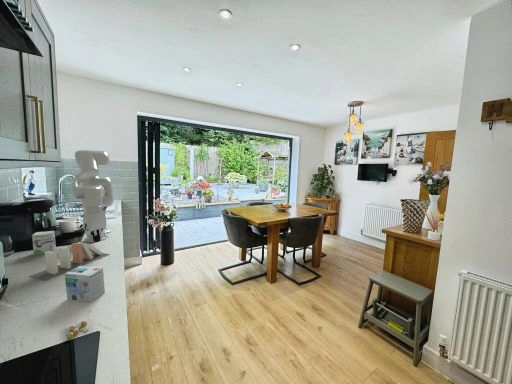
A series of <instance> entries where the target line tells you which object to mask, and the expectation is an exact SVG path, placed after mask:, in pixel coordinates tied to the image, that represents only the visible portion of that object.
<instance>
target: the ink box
mask: <svg viewBox="0 0 512 384" xmlns="http://www.w3.org/2000/svg"><path fill="white" fill-rule="evenodd" d="M55 234H56V233H55V231H54V230H49V231H37V232H34V233H33V234H32V235H31V238H32V249H33V255H34V256H37V255H45V252H47V251H52V252H56V251H57V246H56V236H55Z"/></svg>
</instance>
